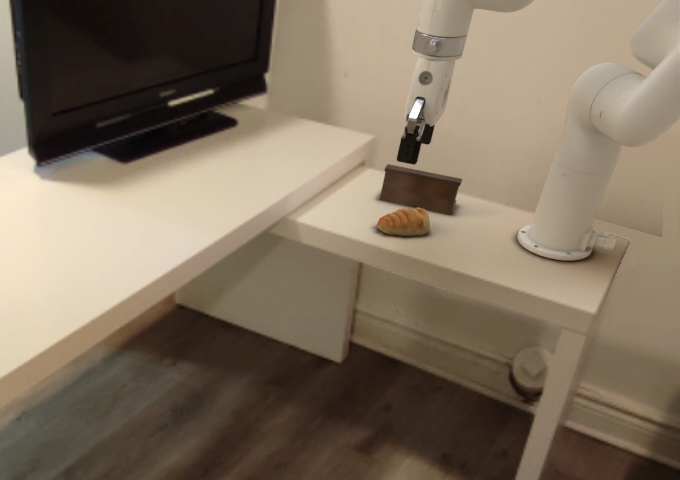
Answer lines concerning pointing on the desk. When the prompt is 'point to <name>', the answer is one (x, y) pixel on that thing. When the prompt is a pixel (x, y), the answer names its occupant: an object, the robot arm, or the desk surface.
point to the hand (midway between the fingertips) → (413, 152)
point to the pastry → (405, 222)
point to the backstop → (420, 189)
